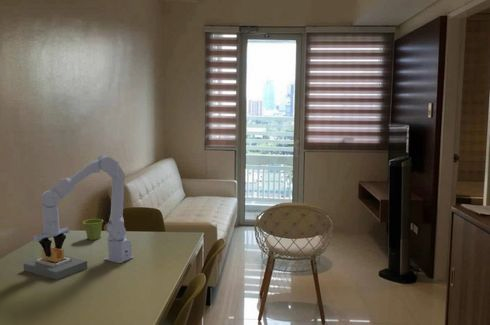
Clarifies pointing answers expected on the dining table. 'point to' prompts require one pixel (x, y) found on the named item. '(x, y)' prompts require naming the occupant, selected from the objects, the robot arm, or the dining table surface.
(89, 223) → the plant pot
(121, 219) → the robot arm
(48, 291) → the dining table surface
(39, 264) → the large grey panel
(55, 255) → the chute
